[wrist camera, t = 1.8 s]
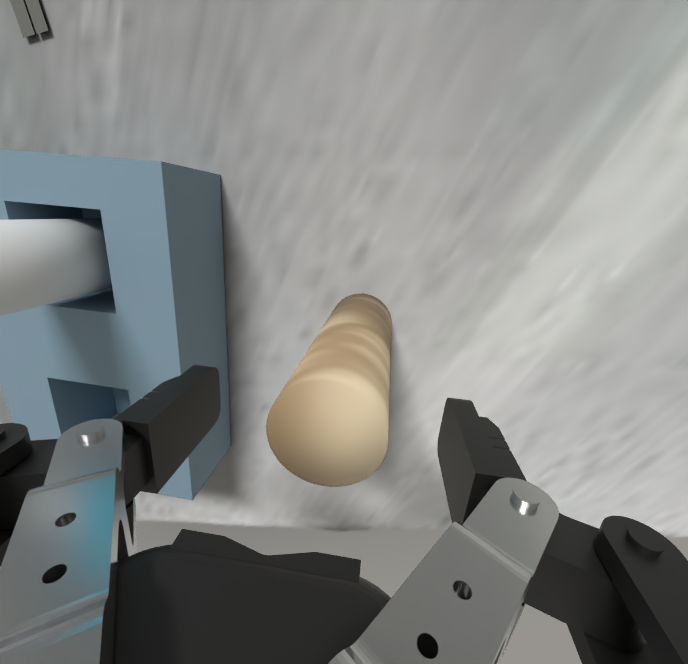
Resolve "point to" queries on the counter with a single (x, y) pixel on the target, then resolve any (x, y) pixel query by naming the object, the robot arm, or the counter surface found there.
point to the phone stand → (24, 17)
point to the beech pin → (337, 399)
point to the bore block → (109, 292)
